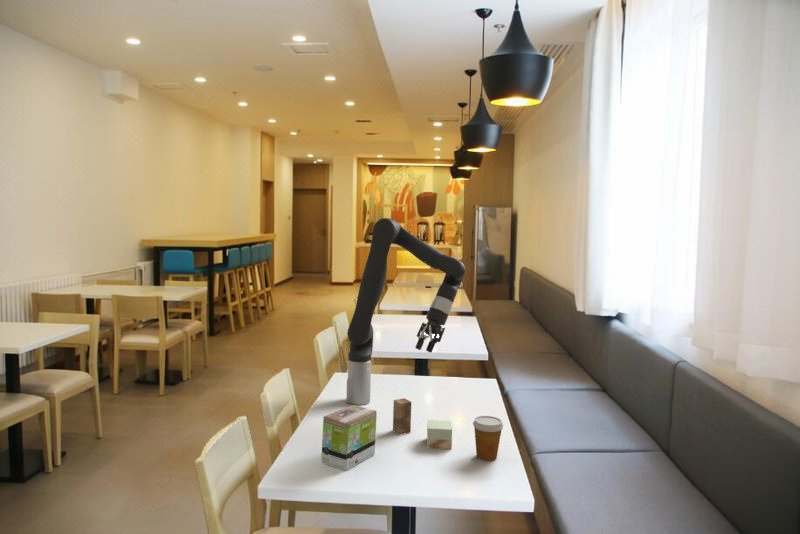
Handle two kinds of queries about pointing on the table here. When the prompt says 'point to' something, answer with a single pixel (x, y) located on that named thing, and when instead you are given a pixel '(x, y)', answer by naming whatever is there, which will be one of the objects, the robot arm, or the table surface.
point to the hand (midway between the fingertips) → (423, 350)
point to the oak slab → (439, 443)
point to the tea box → (348, 436)
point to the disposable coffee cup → (487, 436)
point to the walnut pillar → (402, 416)
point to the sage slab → (439, 430)
